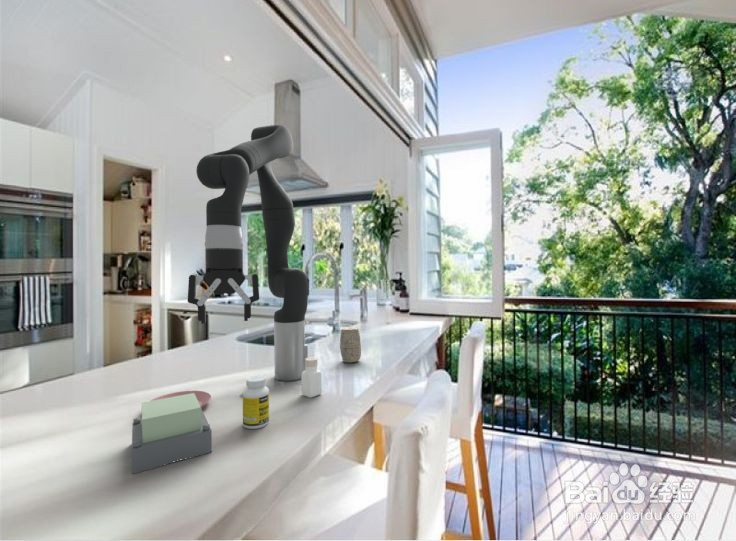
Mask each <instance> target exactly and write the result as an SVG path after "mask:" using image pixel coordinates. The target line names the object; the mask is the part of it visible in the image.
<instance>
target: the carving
mask: <svg viewBox="0 0 736 541" xmlns="http://www.w3.org/2000/svg"><path fill="white" fill-rule="evenodd" d="M339 349H340V356H341V358H342V361H343V362H344V363H348V364H349V363H350V364H351V363H355V362H358V361H360V359H361V358H362V357H361V356H362V345H361V335H360V330H359V328H358V327H353V326H345V327H342V328H341V329H340V338H339Z"/></svg>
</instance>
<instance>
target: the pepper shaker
mask: <svg viewBox="0 0 736 541" xmlns="http://www.w3.org/2000/svg"><path fill="white" fill-rule="evenodd" d="M318 364H319V363H318V357H315V356H312V357H310V356H309V357H308V358H306V359H305V367H306V370H305V371H303V372H302V378H301V395H303V396H305V397H307V398H310V399H311V398H315V397H317V396H319V395H321V394H322V390H323V389H322V372H321V370H319V369H318V366H319V365H318Z"/></svg>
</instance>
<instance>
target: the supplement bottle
mask: <svg viewBox="0 0 736 541" xmlns="http://www.w3.org/2000/svg"><path fill="white" fill-rule="evenodd" d="M266 380H267V379H266V376H264V375H254V376H249V377H247V378H246V380H245V381H246V382H245V383H246V384H245V385H246V388H245V389H244V390H243V392H242V427H244V428H246V429H250V430H256V429H261V428H264V427H265V426H267V425H268V424H269V423H270V422H269V421H270V390H269V388H268V386H266V385H267V381H266Z"/></svg>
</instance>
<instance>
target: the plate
mask: <svg viewBox="0 0 736 541" xmlns="http://www.w3.org/2000/svg"><path fill="white" fill-rule="evenodd" d="M191 393H194V394H195V396H196V398H197V400H198V402H199V404H200V406H201V409H202V410H203V408H204V407H205V406H206V404H208V403H209V402H210V401H211V399H212V395H211V394H210V392H207V391H203V390H202V391H201V390H184V391H176V392H171V393H166V394H164V395H160V396H158V397H154V398H152V399H151V400H150V401H153V400H159V399H164V398H170V397H175V396H180V395H186V394H191Z"/></svg>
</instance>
